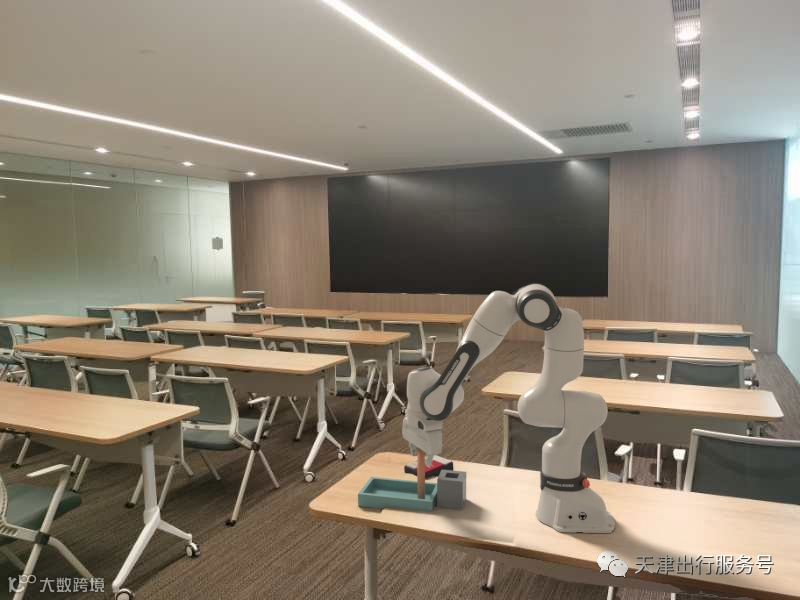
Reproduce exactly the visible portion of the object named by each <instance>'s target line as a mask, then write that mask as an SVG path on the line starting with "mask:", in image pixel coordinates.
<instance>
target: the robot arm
mask: <svg viewBox="0 0 800 600" xmlns="http://www.w3.org/2000/svg"><path fill="white" fill-rule="evenodd" d="M555 297H556V296H554V293H553V292H552V290H551V289H550V287H548V286H547V285H545V284H543V283H541V282H530V283H528V284H526V285H524V286H522V287H520V288H518V289H517V290H514V291H513V292H512V293H511V294H510V293H509V292H506V291H504V290H503V291H502V290H495V291H492V292H491V293H490V294H488V296H487V297H486V298H485V299H484V300H483V301H482V303H481V304H480V305H479V307H478V308H477V310H476V312H475V313H474V314H473V316H472V318H471V319H470V321H469V323H468V325H467V327H466V328H465V329H466V330H465V331H464V334H463V336H462V338H461V340H460V342H459V344H458V346H457V348H456V351H455V352H454V354H453V355H452V357H451V359H449V362H448V363H447V366H446V367H445V369H444V370H443V371H442V372H441V373H438V371H436V370H434V368H432V367H431V366H421V367H416V368H413V370H410V372H409V373H408V375H407V381H406V398H407V406H406V413H405V415H404V418H403V420H402V427H401V428H402V430H401V433H402V438H403V439H404V440H406V441H407V442H408V447H409V449H410V455H411V456H412V457H417V451H418V450H417V448H418V449H419V450H423V451H424V452H425V456H426V457H427V458H426V459H425V464H426V465H427V466H431V465H432V459H433V457H434V455H437V456H439V455H441V454H442V450H443V432H442V430H441V429H443V427H444V425H443V420H445V419H447V418H448V417H449V416H450V415H451V413H453V412H454V411H455V410H456V409H458V407H460V405H461V404H462V403H463V401H464V400H465V396H466V395H465V388H464V386H463V385H462V384H463V382H464V380H465V379H466V377H467V376H468V374H469V373H470V372H471V370H472V369H473V368H474V367H475V366H477V364H479V363H480V362H481V361H483V360H484V359H485V358H486V357H488V356H490V355H491V354H492V353H493V352H494V351H495V350H496V349H497V348H498V346H499V345H500V344H501V343H502V342H503V340H504V338H505V337H506V335H507V333H508V332H509V330H510V328H511V327H512V326H513V325H514V324H515V323H517V321H520V320H521V321H522V322H523V323H524V324H525V325H527V326H528V327H532V328H535V329H539V330H542V331H543V332H544V350H543V353H544V354H543V363H542V368H541V372H540V373H541V374H540V375H539V377H538V379H537V380H536V382H534V384H533V385H532V386H531V387H530V388H529V389H527V390H525V391H524V392H523V393H522V394H521V395H520V397H519V399H518V401H517V412H518V416H519V418H520V419H521V421H522V422H523V423H524V424H527V425H530V426H535V427H538V428H539V427H541V428H562V430H561V432H560V433H558V434H557V435H555V436H553V437H550V438H549V439H547V440H546V441H545V442H544V443H543V445H542V448H541V449H542V450H541V453H542V454H541V469H540V474H539V487H540V493H539V494H540V495H539V499H538V500H539V501H538V505H537V509H536V512H535V517H536V518H537V519H538V521H540V522H541V523H543V524H544V525H547V526H549V527H551V528H553V529H554V530H555V531H557V532H560V533H576V532H583V534H584V533H586V534H588V533H589V534H590V533H591V534H611V533H613V532H614V531H615V529H614V528H616V523H615V518H614V517H613V515H612V513H611V512H610V511H609V510H607V507H606V502H605V501H604V499H603V497H602V496H601V495H600V494H598V493H597V492H596V491H594V490H593V489H592V488H590V486H591V483H590V481H589V479H588V476H587V475H586V473H585V472H581V464H582V463H581V461H582V452H583V447H584V445H585V443H586V441H587V439H588V438H589V436H590V435H591V434H592V433H594V431H595V430H596V429H598V428H600V427H601V426H602V425H604V423H605V422H606V420H607V418H608V413H609V412H608V405H607V401H606V400H605V398H604V396H602V395H601V394H600V393H597V392H592V391H587V390H566V389H565V390H562V389H563V388H564V386H566V385H567V384H569V383H571V382H573V381H575V380H577V379H578V378H579V377H580V376H581V375H582V374H583V372H584V357H585V354H584V352H585V332H584V324H583V318H582V316H581V314H580V313H579V311H576V310H574V309H572V308H568V307H567V308H566V307H564V308H563V307H561V306H559V305H558V303H557V301H556V298H555ZM613 530H614V531H613ZM612 531H613V532H612Z"/></svg>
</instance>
